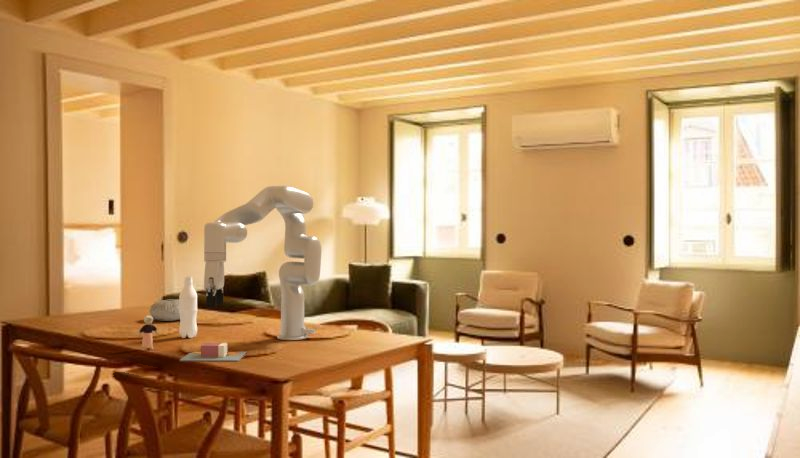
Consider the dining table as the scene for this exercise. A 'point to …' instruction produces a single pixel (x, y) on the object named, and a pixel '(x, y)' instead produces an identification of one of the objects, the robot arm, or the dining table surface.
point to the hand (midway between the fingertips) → (215, 305)
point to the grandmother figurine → (147, 333)
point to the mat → (198, 357)
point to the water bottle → (188, 310)
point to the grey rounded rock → (166, 310)
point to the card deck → (214, 350)
